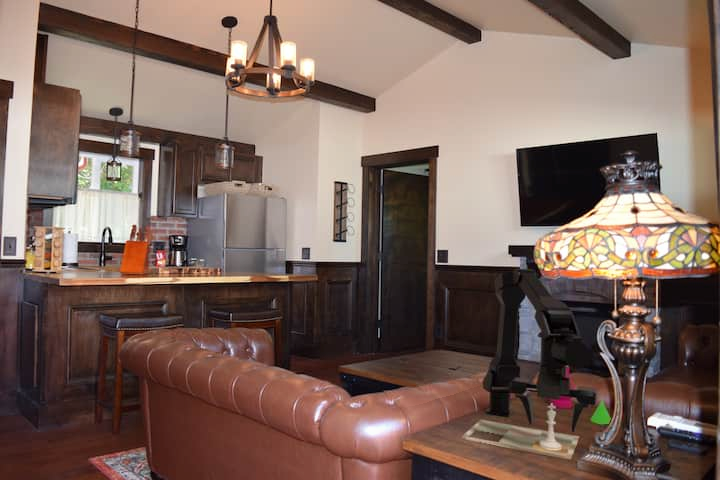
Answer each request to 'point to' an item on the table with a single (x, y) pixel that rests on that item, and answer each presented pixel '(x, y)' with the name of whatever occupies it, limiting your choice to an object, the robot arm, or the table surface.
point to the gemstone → (601, 415)
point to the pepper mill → (563, 400)
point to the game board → (524, 438)
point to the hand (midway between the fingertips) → (551, 428)
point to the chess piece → (550, 432)
